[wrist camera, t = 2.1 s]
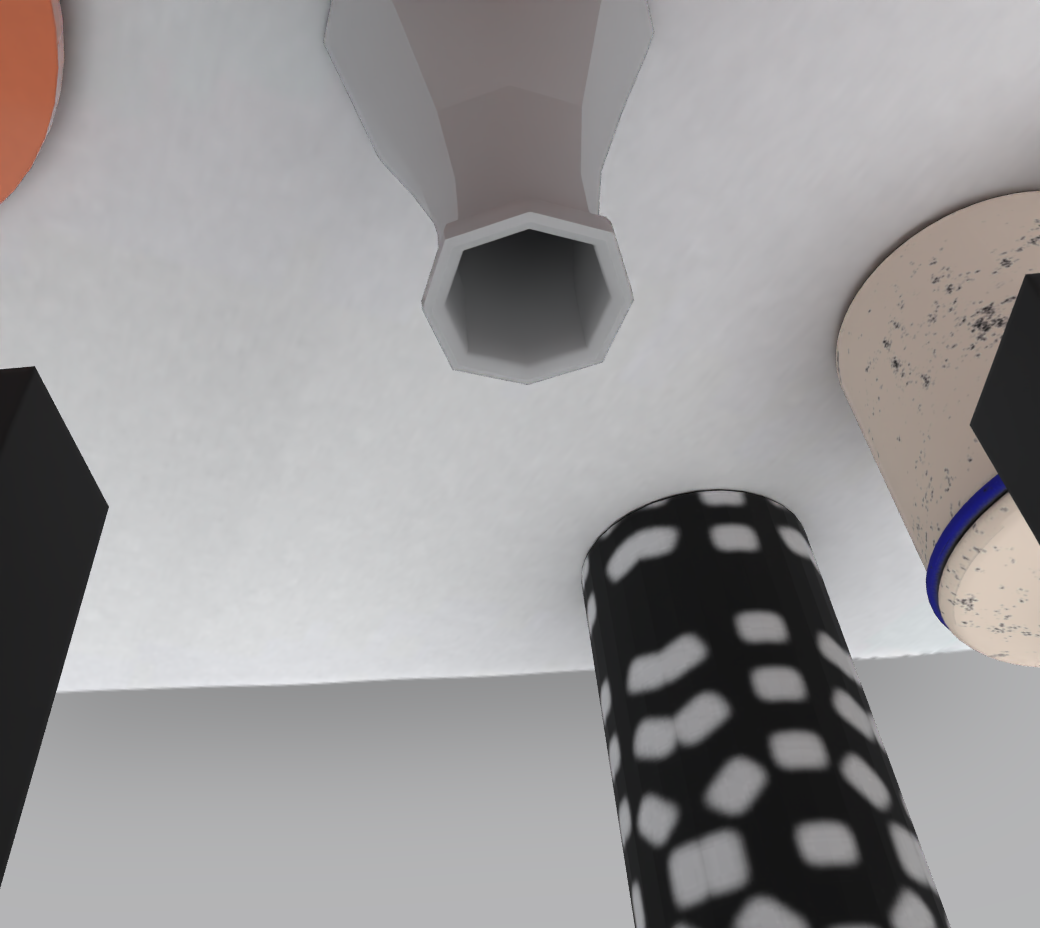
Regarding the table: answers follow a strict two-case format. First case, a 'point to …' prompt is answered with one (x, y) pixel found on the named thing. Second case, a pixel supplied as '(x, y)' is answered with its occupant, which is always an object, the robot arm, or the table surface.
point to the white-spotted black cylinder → (743, 729)
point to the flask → (503, 163)
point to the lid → (27, 83)
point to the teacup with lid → (950, 414)
